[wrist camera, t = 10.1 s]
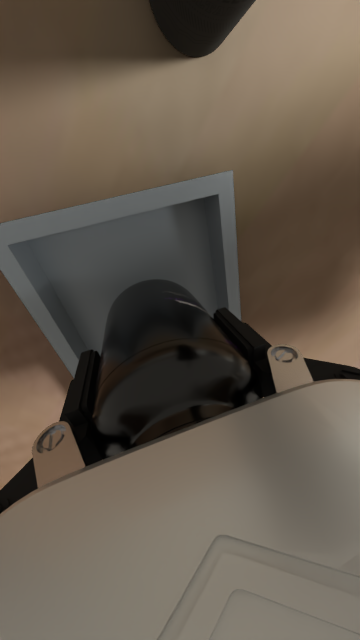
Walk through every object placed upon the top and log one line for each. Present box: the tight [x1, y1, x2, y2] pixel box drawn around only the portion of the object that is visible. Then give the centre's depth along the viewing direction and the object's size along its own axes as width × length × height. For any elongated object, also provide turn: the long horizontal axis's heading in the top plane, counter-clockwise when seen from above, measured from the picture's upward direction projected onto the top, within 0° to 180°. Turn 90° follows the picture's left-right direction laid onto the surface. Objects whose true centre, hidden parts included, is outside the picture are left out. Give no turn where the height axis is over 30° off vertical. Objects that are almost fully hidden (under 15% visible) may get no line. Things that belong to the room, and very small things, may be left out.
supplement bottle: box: [91, 279, 263, 459], centre depth 10 cm, size 7×7×12 cm
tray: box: [0, 170, 241, 378], centre depth 16 cm, size 14×16×3 cm
